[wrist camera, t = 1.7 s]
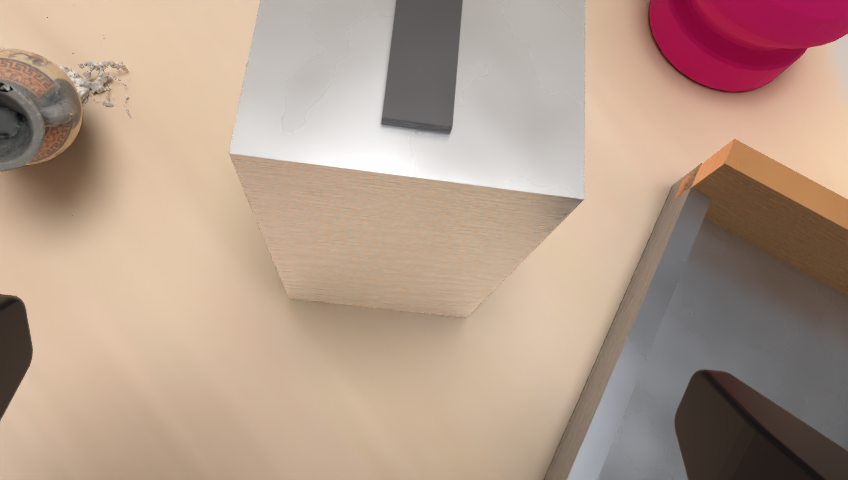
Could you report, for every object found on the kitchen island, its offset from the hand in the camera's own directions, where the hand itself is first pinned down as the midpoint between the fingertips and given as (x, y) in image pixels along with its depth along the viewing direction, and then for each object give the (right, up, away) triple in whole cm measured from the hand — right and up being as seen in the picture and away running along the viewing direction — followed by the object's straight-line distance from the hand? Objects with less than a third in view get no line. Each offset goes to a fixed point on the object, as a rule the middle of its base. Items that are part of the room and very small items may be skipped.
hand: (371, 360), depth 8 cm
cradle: (+12, -4, +13) cm, 18 cm away
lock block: (-1, +2, +13) cm, 13 cm away
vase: (-12, +4, +13) cm, 18 cm away
